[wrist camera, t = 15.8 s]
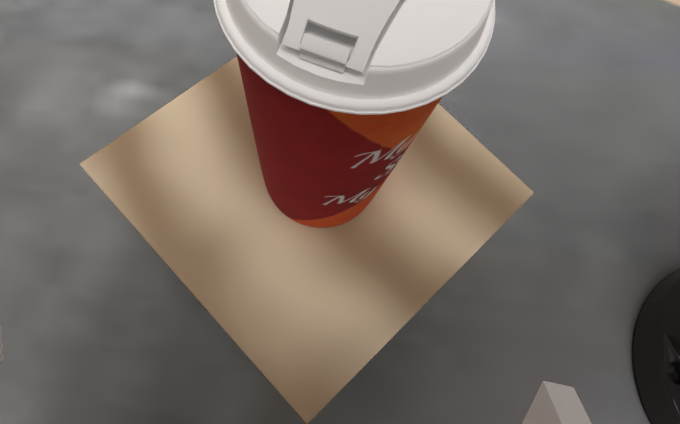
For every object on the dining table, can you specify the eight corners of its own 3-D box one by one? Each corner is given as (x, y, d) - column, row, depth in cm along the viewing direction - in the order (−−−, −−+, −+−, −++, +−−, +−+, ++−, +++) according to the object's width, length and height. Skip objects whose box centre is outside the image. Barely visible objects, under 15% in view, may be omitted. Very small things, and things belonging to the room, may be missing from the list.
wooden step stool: (314, 77, 37) (323, -4, 30) (478, 236, 34) (534, 192, 27) (125, 218, 32) (79, 164, 25) (299, 417, 30) (307, 424, 22)
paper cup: (370, 272, 25) (478, 130, 11) (217, 218, 25) (150, 15, 11) (414, 134, 27) (540, -107, 14) (276, 86, 27) (275, -200, 14)
